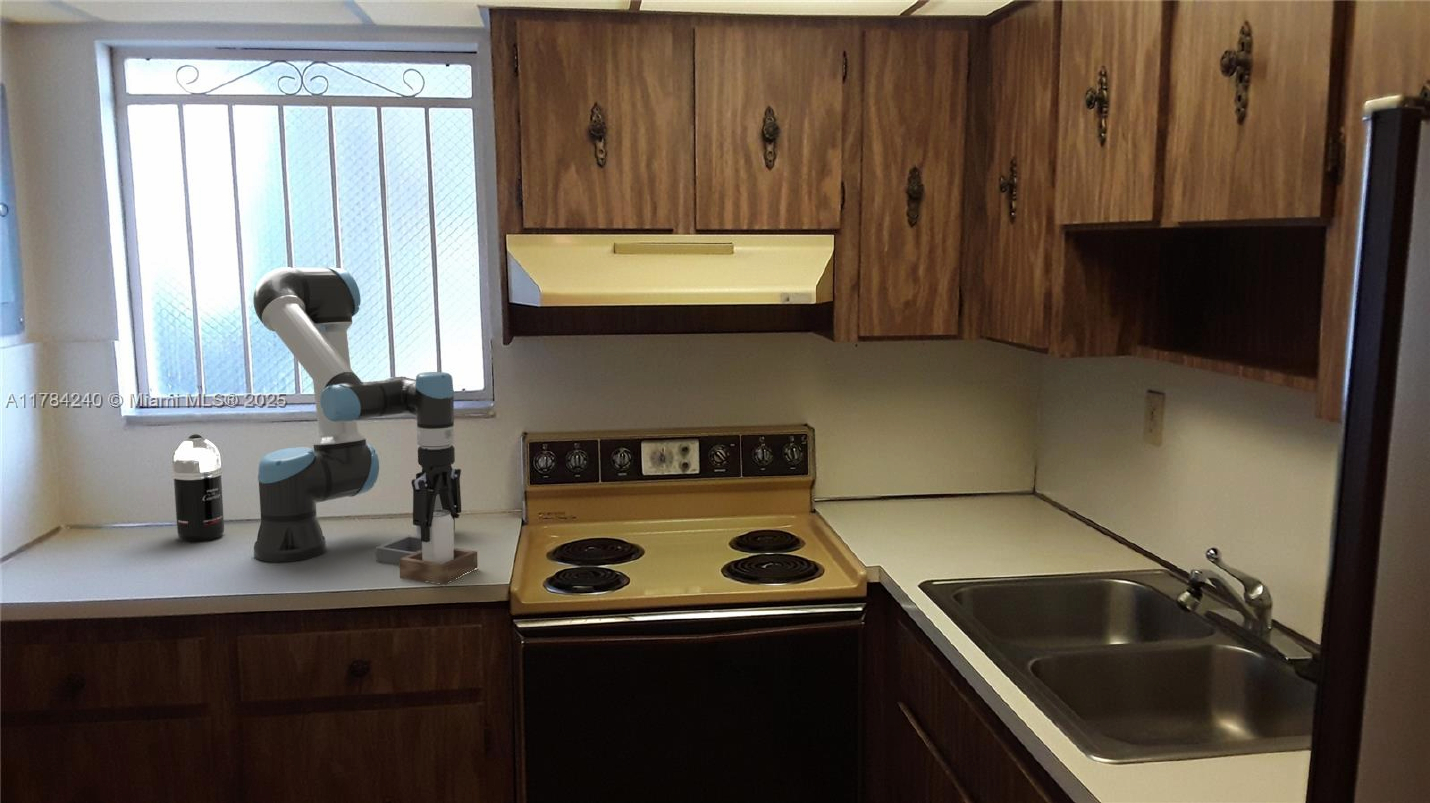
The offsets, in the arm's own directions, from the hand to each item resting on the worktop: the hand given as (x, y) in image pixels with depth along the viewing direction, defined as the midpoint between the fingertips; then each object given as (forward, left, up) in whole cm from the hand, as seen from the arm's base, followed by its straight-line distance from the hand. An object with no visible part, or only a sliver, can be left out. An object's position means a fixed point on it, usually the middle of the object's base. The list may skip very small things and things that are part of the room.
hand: (438, 551), depth 212 cm
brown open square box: (0, 0, -5) cm, 5 cm away
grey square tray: (-12, +6, -5) cm, 15 cm away
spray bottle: (-67, -3, -5) cm, 68 cm away
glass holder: (-22, +25, -5) cm, 34 cm away
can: (0, 0, -4) cm, 4 cm away
